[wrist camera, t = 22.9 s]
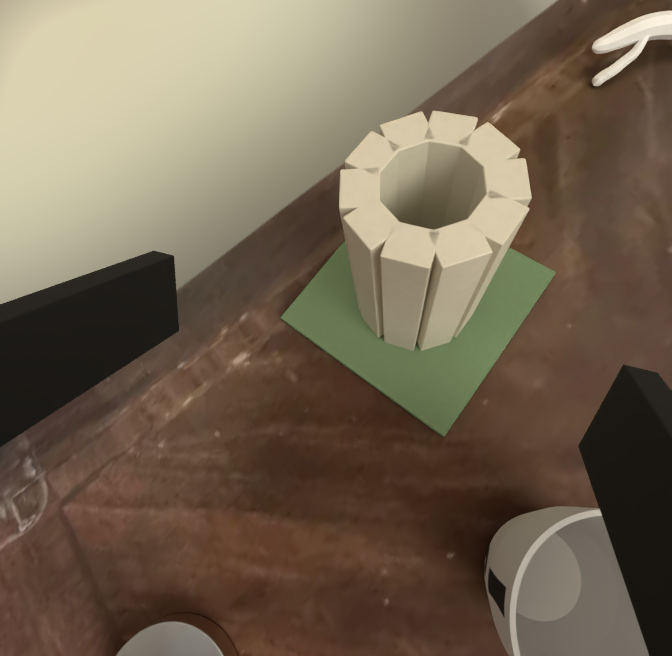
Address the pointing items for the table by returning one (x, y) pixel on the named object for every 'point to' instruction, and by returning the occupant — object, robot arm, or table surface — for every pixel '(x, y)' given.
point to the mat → (416, 366)
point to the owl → (632, 40)
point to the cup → (560, 587)
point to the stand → (180, 638)
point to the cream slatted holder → (429, 222)
